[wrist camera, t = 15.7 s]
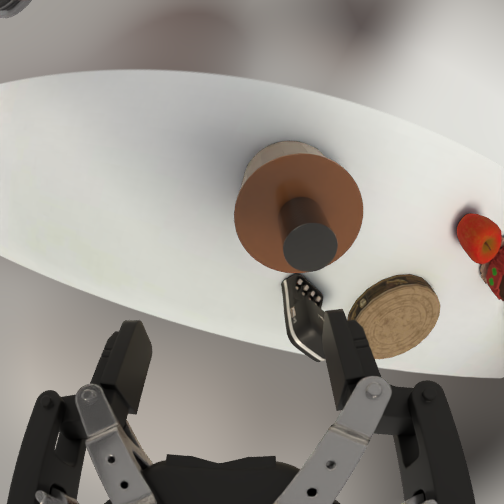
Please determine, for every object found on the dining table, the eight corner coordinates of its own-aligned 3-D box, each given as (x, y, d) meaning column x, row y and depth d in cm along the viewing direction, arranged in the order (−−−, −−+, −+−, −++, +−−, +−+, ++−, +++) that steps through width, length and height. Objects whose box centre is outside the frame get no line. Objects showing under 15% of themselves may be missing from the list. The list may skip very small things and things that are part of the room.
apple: (456, 201, 35) (486, 225, 29) (483, 208, 36) (512, 230, 29) (443, 240, 38) (469, 267, 32) (470, 243, 39) (495, 269, 32)
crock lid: (228, 154, 25) (221, 176, 20) (362, 150, 25) (392, 169, 19) (240, 270, 32) (238, 313, 26) (354, 262, 31) (373, 303, 25)
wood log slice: (448, 292, 44) (456, 303, 41) (393, 353, 51) (397, 365, 48) (387, 259, 40) (394, 271, 38) (328, 334, 47) (331, 348, 45)
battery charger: (329, 294, 43) (347, 352, 33) (309, 308, 44) (322, 368, 35) (300, 265, 41) (313, 324, 31) (278, 281, 42) (285, 342, 32)
